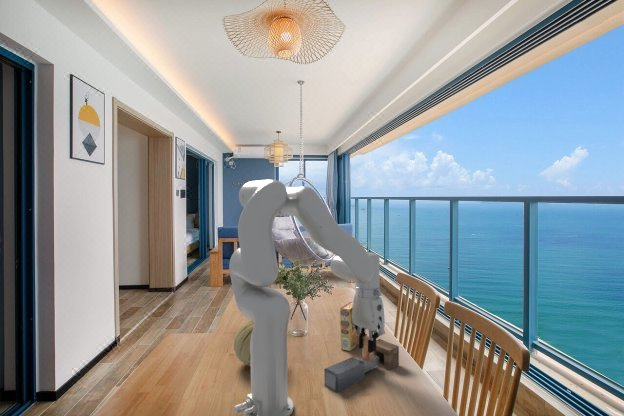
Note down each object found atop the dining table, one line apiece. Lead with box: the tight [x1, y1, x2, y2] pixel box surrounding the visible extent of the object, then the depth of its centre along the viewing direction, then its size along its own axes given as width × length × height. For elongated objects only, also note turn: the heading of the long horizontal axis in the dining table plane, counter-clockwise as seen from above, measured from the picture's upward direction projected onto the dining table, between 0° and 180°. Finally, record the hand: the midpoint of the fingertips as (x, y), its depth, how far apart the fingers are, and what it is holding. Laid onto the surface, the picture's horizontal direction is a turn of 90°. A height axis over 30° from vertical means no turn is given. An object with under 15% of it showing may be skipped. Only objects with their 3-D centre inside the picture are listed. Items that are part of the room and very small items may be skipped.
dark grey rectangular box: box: [323, 356, 366, 393], centre depth 108 cm, size 12×5×5 cm, turn 130°
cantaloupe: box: [233, 320, 254, 368], centre depth 120 cm, size 15×15×15 cm
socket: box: [373, 338, 400, 371], centre depth 120 cm, size 5×8×6 cm, turn 40°
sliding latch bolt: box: [358, 334, 380, 373], centre depth 112 cm, size 16×3×10 cm, turn 130°
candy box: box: [339, 301, 359, 352], centre depth 134 cm, size 9×4×15 cm, turn 150°
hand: (367, 348), depth 115 cm, fingers closed on sliding latch bolt, 3 cm apart
